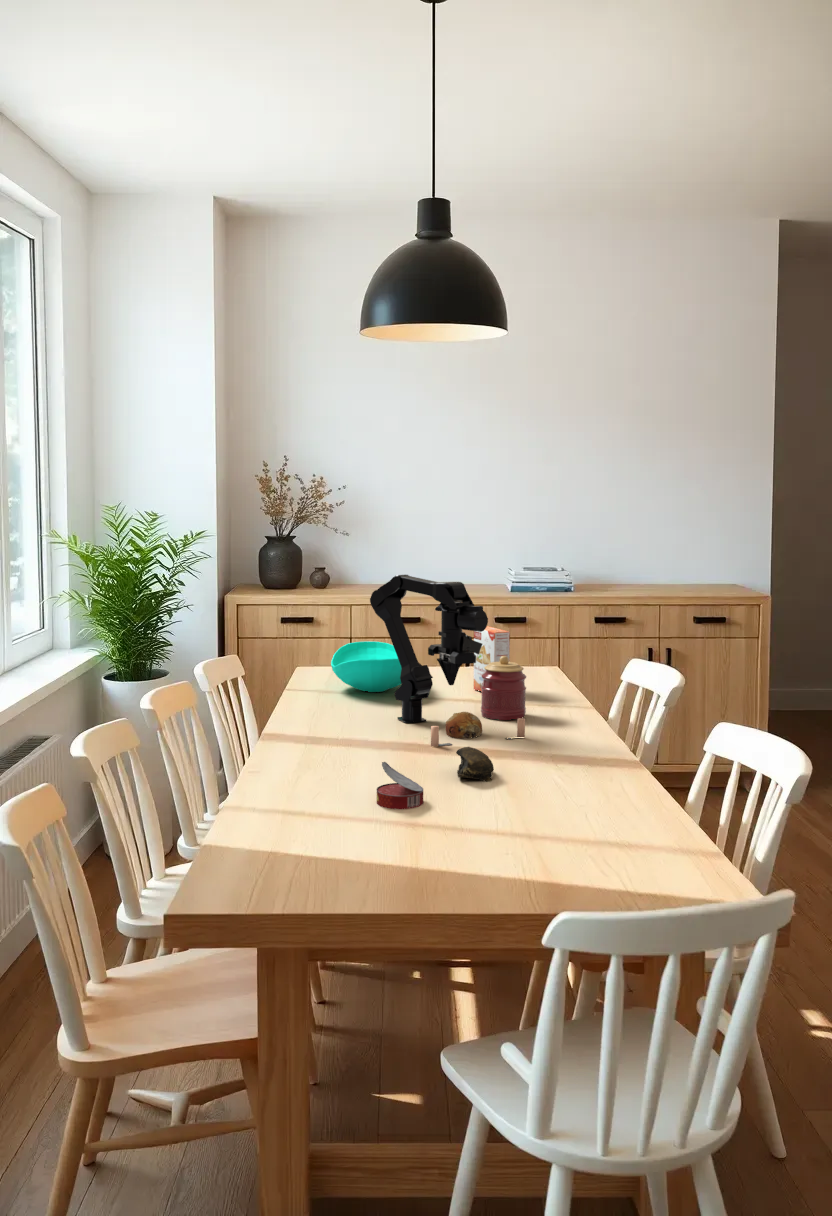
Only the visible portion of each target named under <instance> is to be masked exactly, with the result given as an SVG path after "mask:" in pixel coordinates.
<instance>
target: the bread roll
mask: <svg viewBox="0 0 832 1216" xmlns="http://www.w3.org/2000/svg"><path fill="white" fill-rule="evenodd" d="M482 733H483V724H482V721H481V719H480V718H479V716H477V715H475V714H473V713H472V712H468V711H461V712H454V713H453V714H452V716H450V717H449V718H448V719H447V720H446V721H445V734H446V735H447V736H448V737H449V736H450V738H453V737H454V739H464V738H467V739H472V738H471V737H475V738H477V737H476V736H478V737H479V735H480V736H481V735H482Z"/></svg>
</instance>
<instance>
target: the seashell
mask: <svg viewBox="0 0 832 1216" xmlns="http://www.w3.org/2000/svg"><path fill="white" fill-rule="evenodd" d="M455 752H456V755H458V756H459V757H460V764H459V765H458V769H457V772H456V773H457V778H464V779H466V778H467V779H475V780H480V781H484V782H492V780H493V778H492V775H493V772H494V771H495V770H494V769H495V768H494V763H493V762H492V760H491V759H490V758H489V756H488V755H487V754H486V753H484V752H483V751H481V750H480V749H477V748H475V747H470V746H464V747H462V748H459V749H457V750H456V751H455Z"/></svg>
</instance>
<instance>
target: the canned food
mask: <svg viewBox="0 0 832 1216" xmlns="http://www.w3.org/2000/svg"><path fill="white" fill-rule="evenodd" d="M381 766H382V769H383V772H384V773H385V774H386V776H388V778H390V779H391V780H393V783H392V782H391V783H385V784H382V785H379V786H378V787H376V805H377V806H379V807H381V808H385V809H389V810H408V809H415V808H419V807H421V806H422V805H424V788H423V786H421V785H420V784H419V783H418V782H416V781H414V780H412V779H411V778H410V777H408V776H405V775H404V774H402V773H400V772H399V771H397V770H396V769H395V768H393V767H392V766H390V764H388V762H386V761H383V762H382V761H381Z"/></svg>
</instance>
